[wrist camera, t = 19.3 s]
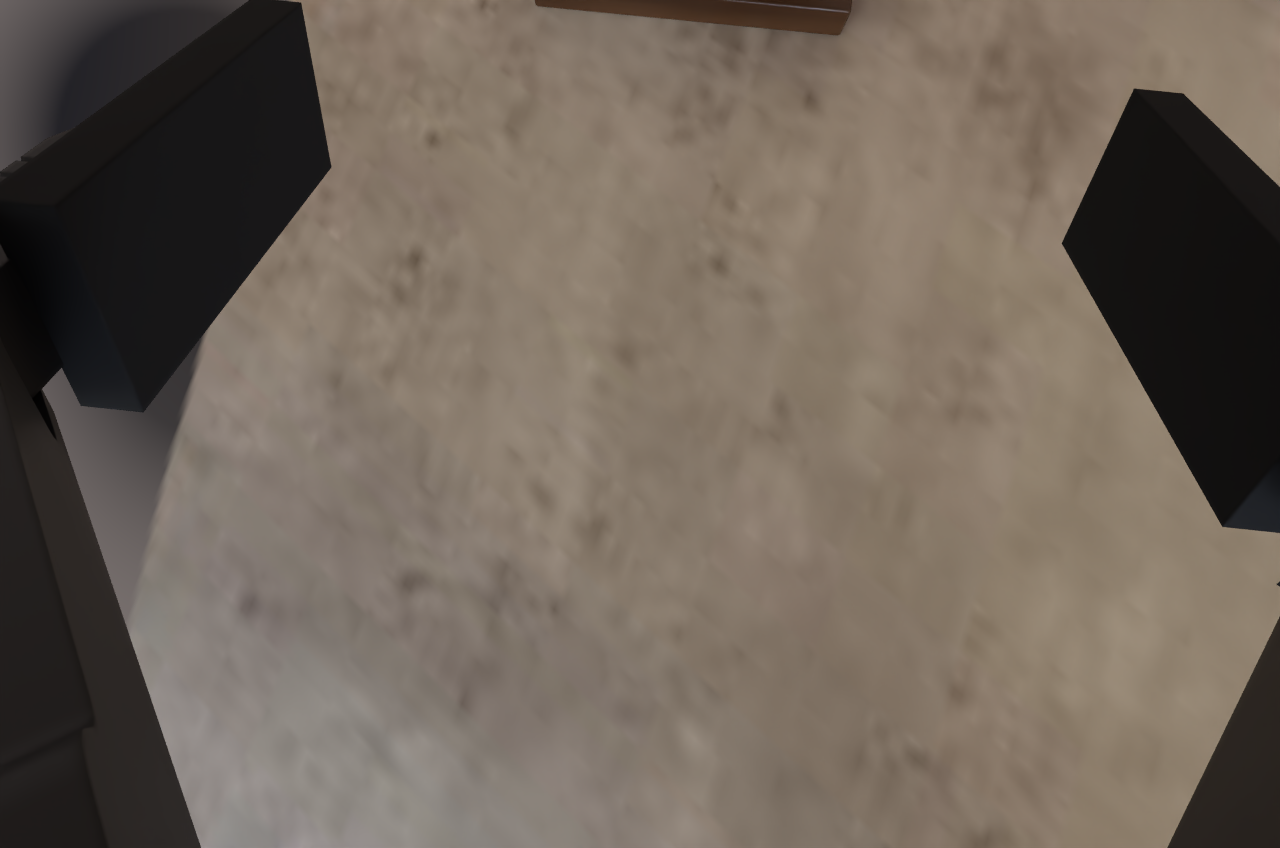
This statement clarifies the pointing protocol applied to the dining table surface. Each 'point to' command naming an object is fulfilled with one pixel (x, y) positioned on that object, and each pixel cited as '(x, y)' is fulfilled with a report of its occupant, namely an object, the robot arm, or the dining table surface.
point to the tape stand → (728, 12)
